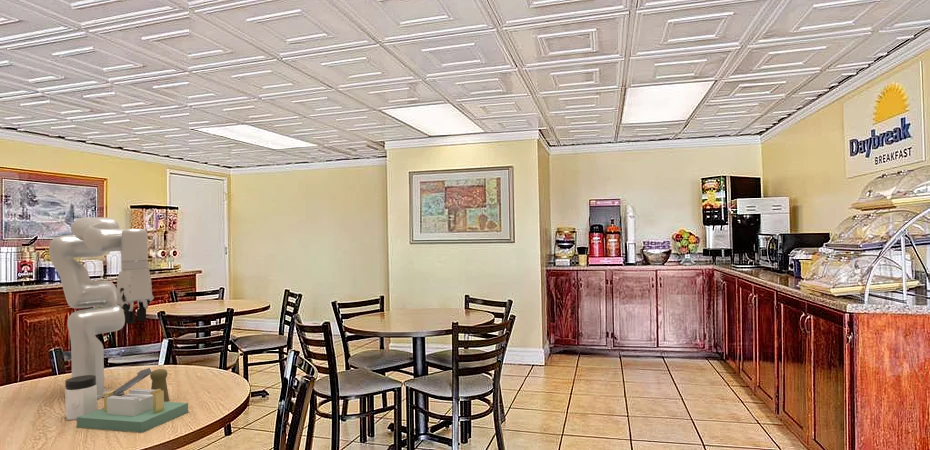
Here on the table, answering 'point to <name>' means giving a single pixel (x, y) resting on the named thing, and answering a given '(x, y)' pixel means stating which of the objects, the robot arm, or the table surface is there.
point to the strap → (133, 381)
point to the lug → (158, 400)
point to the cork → (160, 382)
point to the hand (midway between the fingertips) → (135, 321)
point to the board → (132, 420)
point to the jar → (80, 396)
